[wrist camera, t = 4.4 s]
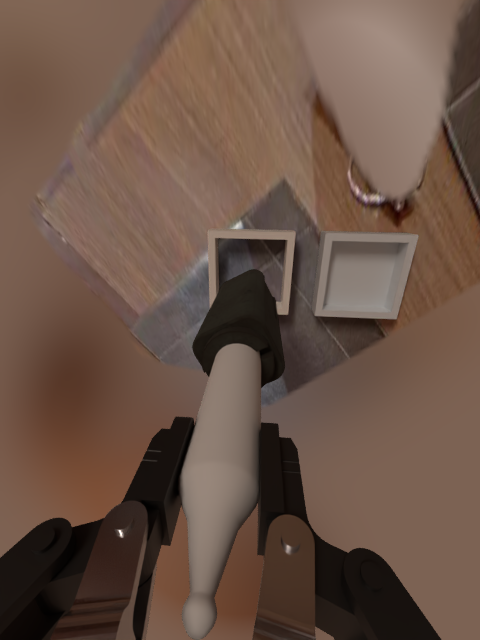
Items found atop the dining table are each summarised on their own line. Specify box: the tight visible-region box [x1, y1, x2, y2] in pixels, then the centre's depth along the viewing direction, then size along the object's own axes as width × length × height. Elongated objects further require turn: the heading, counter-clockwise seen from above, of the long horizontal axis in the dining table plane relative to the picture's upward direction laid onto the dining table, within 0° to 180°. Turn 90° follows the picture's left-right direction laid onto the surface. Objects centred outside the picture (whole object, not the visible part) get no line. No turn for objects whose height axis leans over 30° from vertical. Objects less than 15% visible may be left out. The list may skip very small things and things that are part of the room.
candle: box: [177, 269, 285, 640], centre depth 18 cm, size 5×5×25 cm
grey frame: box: [208, 229, 296, 315], centre depth 40 cm, size 12×12×3 cm
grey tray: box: [311, 231, 419, 319], centre depth 39 cm, size 12×12×3 cm
